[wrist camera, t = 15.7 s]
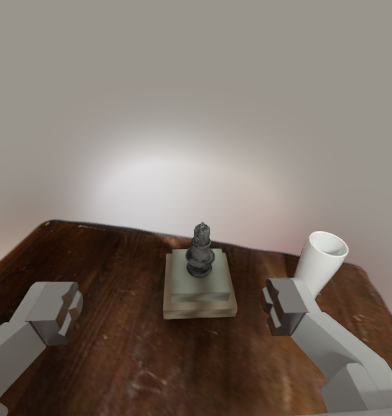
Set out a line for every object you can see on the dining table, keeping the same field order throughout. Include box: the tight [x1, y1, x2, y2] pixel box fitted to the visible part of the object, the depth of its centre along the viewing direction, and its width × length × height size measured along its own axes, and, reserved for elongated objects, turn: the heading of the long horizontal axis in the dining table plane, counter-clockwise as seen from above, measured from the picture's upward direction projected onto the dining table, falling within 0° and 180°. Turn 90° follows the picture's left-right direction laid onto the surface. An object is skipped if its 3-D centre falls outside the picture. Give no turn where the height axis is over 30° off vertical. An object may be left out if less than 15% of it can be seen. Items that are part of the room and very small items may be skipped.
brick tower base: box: [163, 249, 237, 319], centre depth 48 cm, size 14×14×6 cm
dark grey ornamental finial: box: [185, 222, 215, 278], centre depth 43 cm, size 6×6×12 cm
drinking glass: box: [293, 231, 348, 299], centre depth 45 cm, size 7×7×15 cm
